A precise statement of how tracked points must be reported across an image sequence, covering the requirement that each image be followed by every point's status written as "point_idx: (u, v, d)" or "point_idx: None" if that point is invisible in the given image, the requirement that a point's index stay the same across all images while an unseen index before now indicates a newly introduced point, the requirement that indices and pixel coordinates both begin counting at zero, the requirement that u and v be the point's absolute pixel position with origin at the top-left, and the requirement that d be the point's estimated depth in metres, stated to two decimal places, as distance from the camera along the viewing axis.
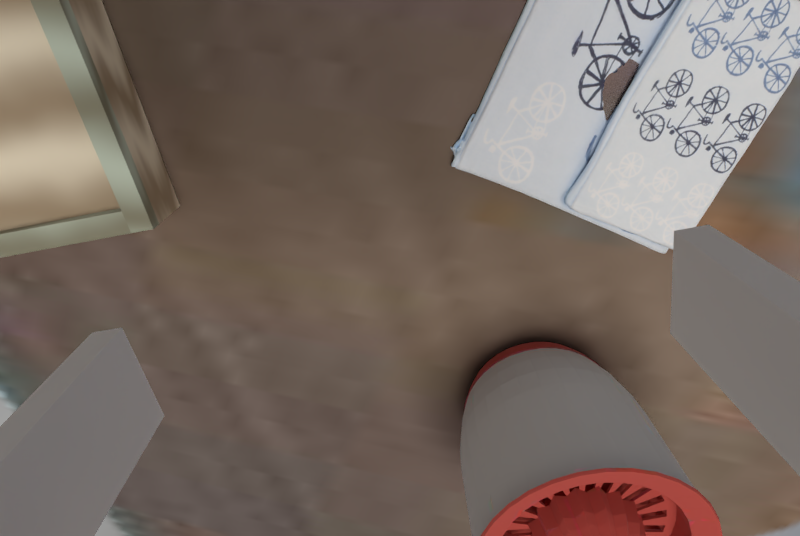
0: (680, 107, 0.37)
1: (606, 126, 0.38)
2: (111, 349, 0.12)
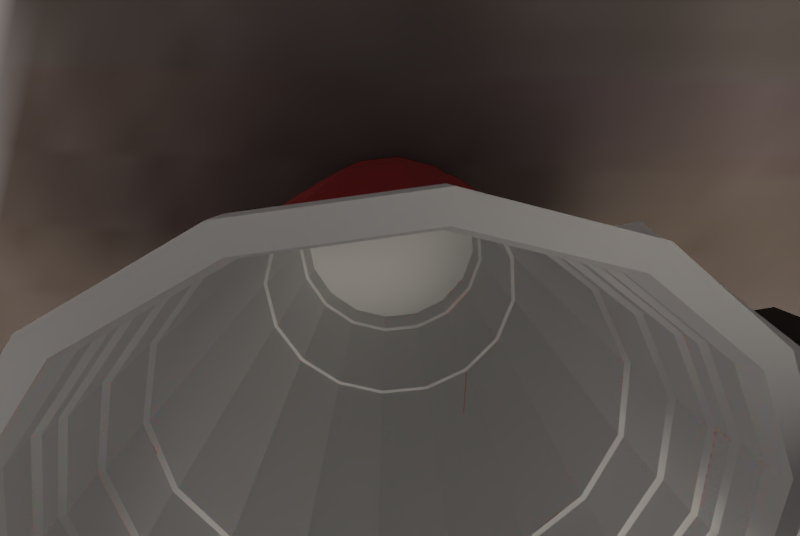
0: None
1: None
2: None
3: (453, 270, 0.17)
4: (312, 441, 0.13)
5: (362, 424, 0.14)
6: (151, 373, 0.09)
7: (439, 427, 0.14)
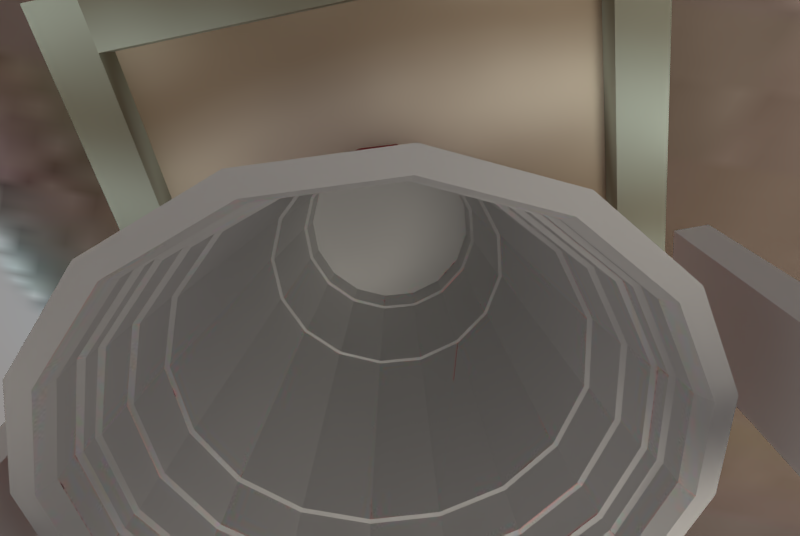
0: None
1: None
2: None
3: (448, 251, 0.19)
4: (314, 402, 0.15)
5: (360, 389, 0.16)
6: (172, 323, 0.10)
7: (431, 392, 0.15)
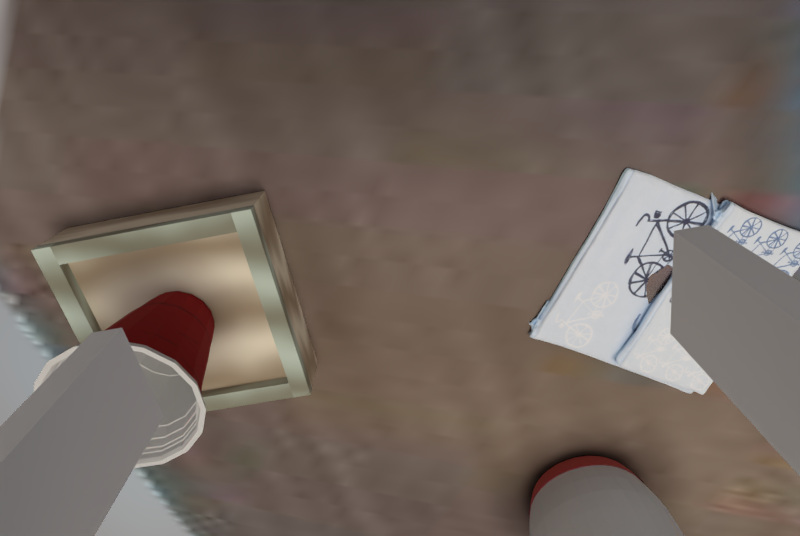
0: None
1: (648, 308, 0.50)
2: (111, 349, 0.12)
3: None
4: None
5: (158, 386, 0.42)
6: None
7: (183, 387, 0.42)
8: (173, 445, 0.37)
